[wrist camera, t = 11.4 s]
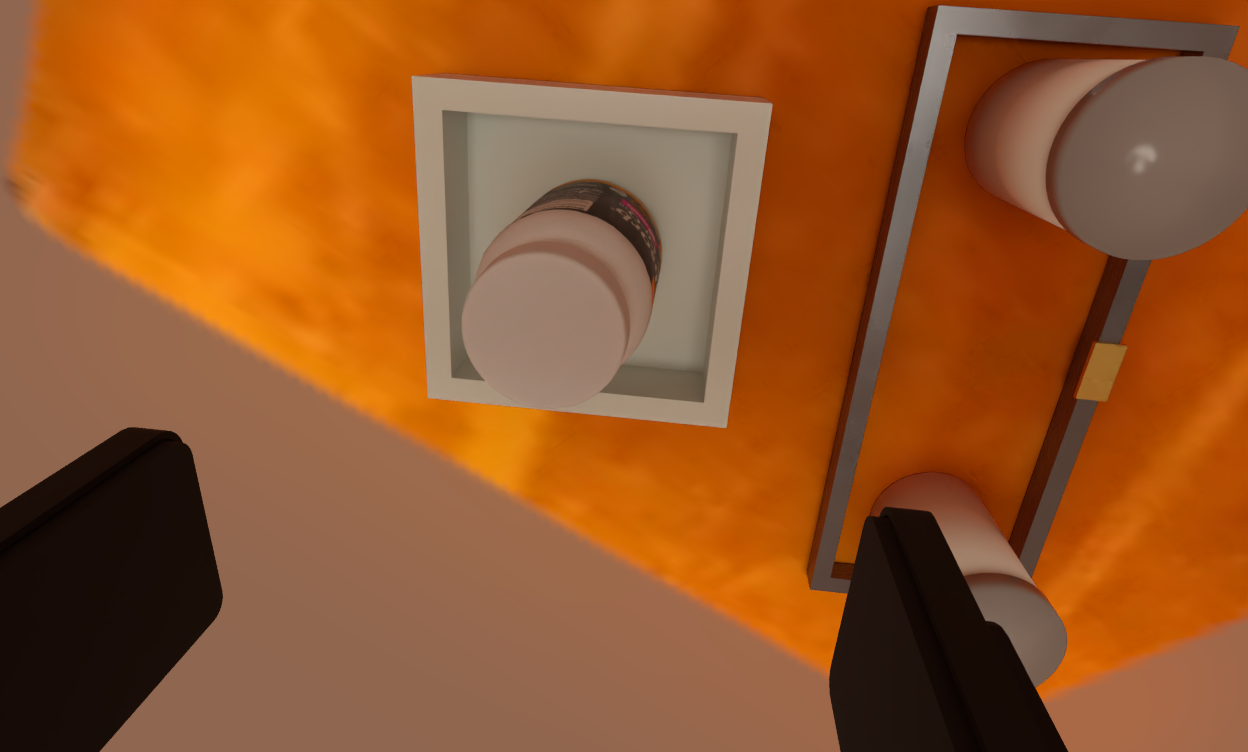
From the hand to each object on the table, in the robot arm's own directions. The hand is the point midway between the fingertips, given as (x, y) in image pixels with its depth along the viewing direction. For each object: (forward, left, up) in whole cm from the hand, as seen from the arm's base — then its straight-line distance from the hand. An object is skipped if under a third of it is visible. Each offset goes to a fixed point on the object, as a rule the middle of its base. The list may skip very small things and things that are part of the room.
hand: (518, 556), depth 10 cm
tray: (+2, +1, -21) cm, 21 cm away
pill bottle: (+2, +1, -21) cm, 21 cm away
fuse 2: (-14, -5, -21) cm, 26 cm away
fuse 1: (-14, +12, -21) cm, 28 cm away
